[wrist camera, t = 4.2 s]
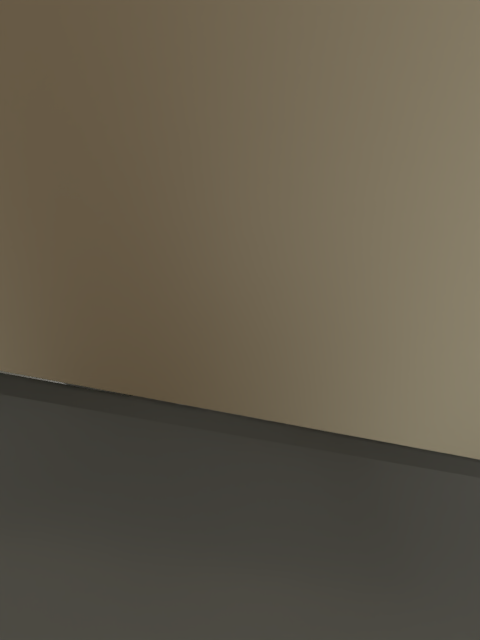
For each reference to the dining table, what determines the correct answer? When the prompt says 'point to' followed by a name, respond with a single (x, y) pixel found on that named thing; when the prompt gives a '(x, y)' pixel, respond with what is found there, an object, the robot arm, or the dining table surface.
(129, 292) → the tunnel
